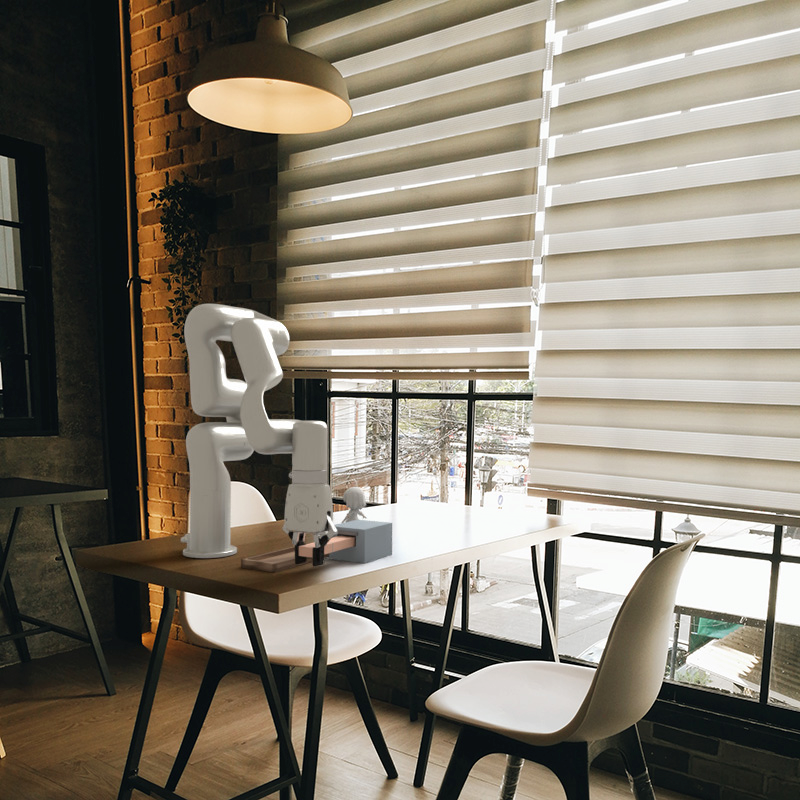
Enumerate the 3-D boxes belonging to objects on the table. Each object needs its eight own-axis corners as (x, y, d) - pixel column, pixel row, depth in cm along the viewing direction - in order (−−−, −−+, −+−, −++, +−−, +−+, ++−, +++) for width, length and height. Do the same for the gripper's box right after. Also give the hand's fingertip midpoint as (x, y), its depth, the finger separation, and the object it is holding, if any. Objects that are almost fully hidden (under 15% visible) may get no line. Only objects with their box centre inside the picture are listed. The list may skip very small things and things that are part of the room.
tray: (240, 567, 159) (241, 559, 159) (302, 551, 178) (302, 544, 178) (274, 572, 154) (274, 563, 154) (334, 555, 173) (334, 547, 173)
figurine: (357, 540, 193) (357, 484, 193) (375, 543, 190) (376, 485, 190) (332, 546, 184) (332, 487, 185) (351, 549, 181) (351, 489, 181)
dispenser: (327, 559, 168) (327, 526, 169) (357, 550, 179) (357, 519, 179) (363, 563, 163) (363, 529, 164) (392, 554, 174) (392, 522, 174)
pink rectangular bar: (298, 555, 154) (298, 546, 155) (341, 544, 168) (341, 535, 168) (313, 557, 152) (313, 548, 152) (355, 545, 166) (355, 536, 166)
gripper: (268, 477, 156) (267, 563, 155) (331, 481, 147) (331, 572, 147) (290, 475, 162) (289, 557, 162) (352, 478, 154) (351, 565, 154)
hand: (309, 563), depth 155 cm, fingers closed on pink rectangular bar, 4 cm apart
